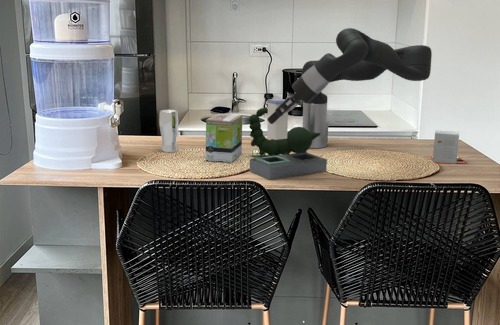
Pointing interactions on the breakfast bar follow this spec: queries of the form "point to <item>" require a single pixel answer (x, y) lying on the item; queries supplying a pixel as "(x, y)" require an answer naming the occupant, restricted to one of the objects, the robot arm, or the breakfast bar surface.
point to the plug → (277, 121)
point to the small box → (445, 146)
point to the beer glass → (169, 130)
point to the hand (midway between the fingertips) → (272, 120)
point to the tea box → (223, 137)
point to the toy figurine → (295, 141)
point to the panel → (287, 165)
